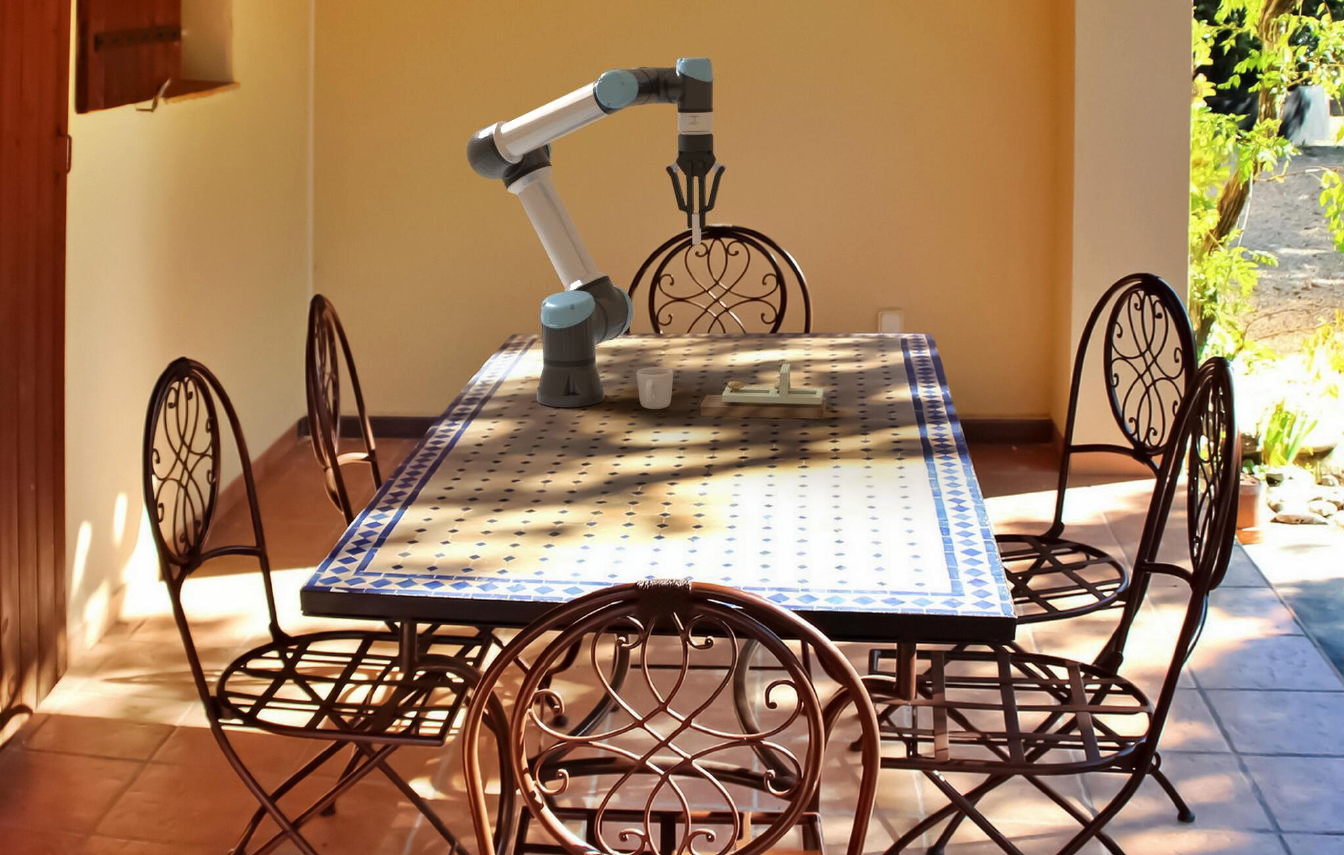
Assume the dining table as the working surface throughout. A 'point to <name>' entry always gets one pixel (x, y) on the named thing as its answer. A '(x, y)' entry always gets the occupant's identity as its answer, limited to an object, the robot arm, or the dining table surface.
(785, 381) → the panel
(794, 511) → the dining table surface
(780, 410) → the rail
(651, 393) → the cup
